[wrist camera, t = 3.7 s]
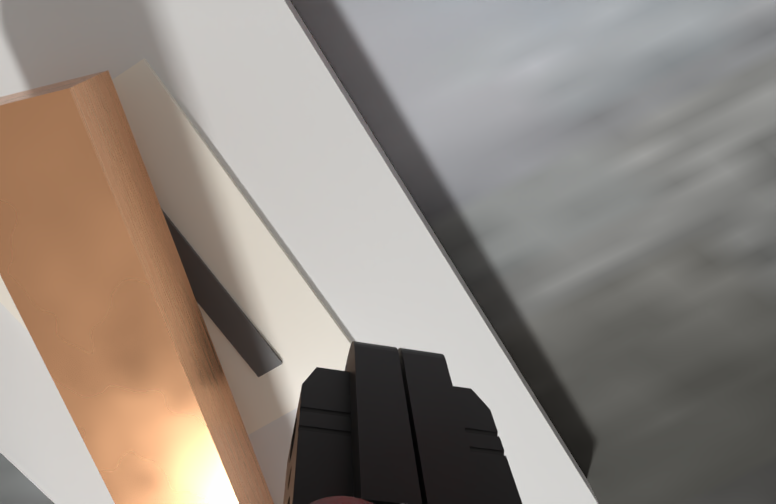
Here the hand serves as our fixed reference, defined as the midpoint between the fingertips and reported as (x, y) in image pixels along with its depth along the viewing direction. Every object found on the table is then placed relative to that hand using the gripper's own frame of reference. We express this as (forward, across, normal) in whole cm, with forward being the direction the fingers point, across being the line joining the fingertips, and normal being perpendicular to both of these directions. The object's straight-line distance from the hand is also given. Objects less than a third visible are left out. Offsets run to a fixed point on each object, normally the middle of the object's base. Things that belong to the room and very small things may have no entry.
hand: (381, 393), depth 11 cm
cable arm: (+7, +3, +7) cm, 10 cm away
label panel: (+9, +3, +5) cm, 11 cm away
